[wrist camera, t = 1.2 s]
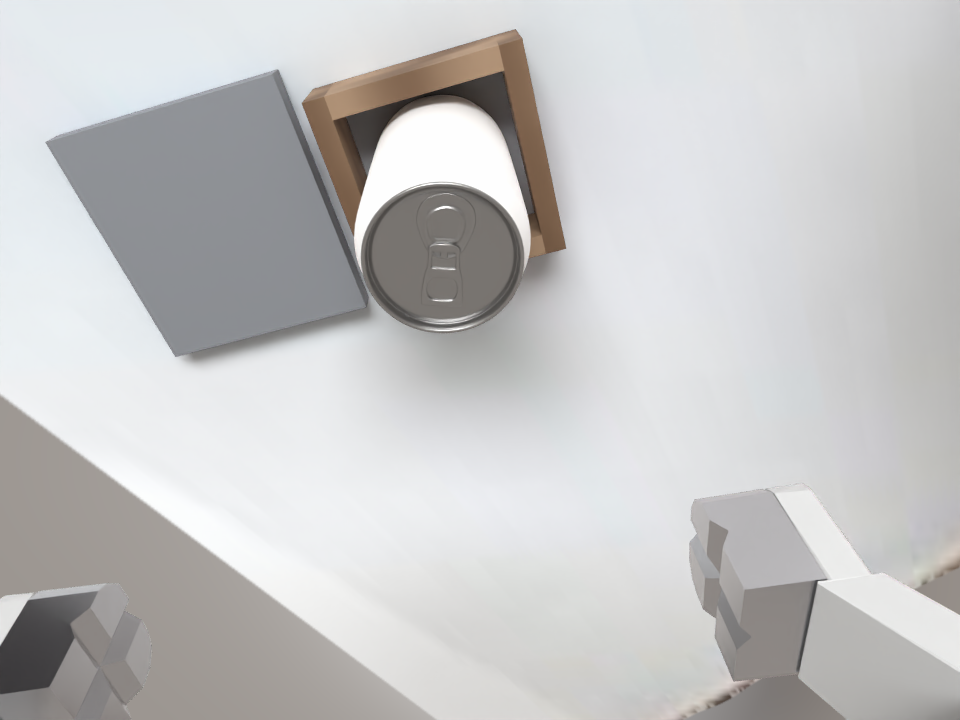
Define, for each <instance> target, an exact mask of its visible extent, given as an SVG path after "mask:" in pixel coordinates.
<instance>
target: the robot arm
mask: <svg viewBox="0 0 960 720" xmlns="http://www.w3.org/2000/svg"><path fill="white" fill-rule="evenodd" d="M691 521H692V524H693V526H694V528H695V530H696V533H697V534H696V536H695V537H694V538H693V539H692V540H691V541H690V543H689V561H690V567H691V574H692V579H693V583H694V586H695V589H696V593H697V595H698V598H699V600H700V603H701V605H702V608H703V609H704V610H705V611H706V612H708V613H709V614H710V615H712V616H713V617H715V618H716V627H715V639H716V641H717V644H718V646H719V648H720V651H721V653H722V655H723V658H724V660H725V662H726V665H727V667H728V669H729V672H730V674H731V677H732V679H733V681H742V680H751V679H760V678H769V677H778V676H786V675H796V674H799V676H798V678H799V679H800V680H801V681H803V682H804V683H805V684H806V685H807V686H808V687H809V688H811V689H812V690H813V691H814V692H815V693H816V694H818V695H819V696H820V697H821V698H822V699H823V700H825V701H826V702H827V703H828V704H829V705H830V706H831V707H833V708H834V709H835V710H836V711H837V712H838V713H840V714H841V715H842V716H843V717H844V718H845V719H846V720H960V615H958V614H957V613H955V612H953V611H951V610H950V609H948V608H946V607H944V606H943V605H941V604H939V603H937V602H935V601H934V600H932V599H930V598H928V597H926V596H925V595H923V594H921V593H919V592H917V591H916V590H914V589H912V588H910V587H908V586H907V585H905V584H903V583H901V582H899V581H898V580H896V579H894V578H892V577H890V576H889V575H887V574H885V573H876V574H872V573H871V572H870V570H869V569H868V568H867V566H866V565H865V563H864V562H863V561H862V559H861V558H860V557H859V555H858V554H857V552H856V551H855V550H854V548H853V547H852V545H851V544H850V543H849V541H848V540H847V538H846V537H845V536H844V534H843V533H842V532H841V530H840V529H839V527H838V526H837V525H836V523H835V522H834V520H833V519H832V518H831V516H830V515H829V513H828V512H827V511H826V509H825V508H824V507H823V505H822V504H821V502H820V501H819V500H818V498H817V497H816V495H815V494H814V493H813V491H812V490H811V488H810V487H808V486H806V485H805V484H803V483H800V484H793V485H787V486H780V487H773V488H767V489H765V490H764V489H760V490H753V491H746V492H740V493H733V494H727V495H720V496H714V497H707V498H700V499H695V500H694V502H693V504H692V508H691ZM128 601H129V598H128V597H127V595H126V594H125V592H124V591H123V590H122V588H121V586H120V585H119V584H114V583H113V584H112V583H106V584H98V585H88V586H80V587H71V588H62V589H54V590H45V591H39V592H34V593H25V594H16V595H8V596H4V597H3V598H1V599H0V720H131V717H130V714H129V711H128V709H127V706H126V704H127V703H128V702H129V701H130V700H131V699H132V698H133V697H134V696H135V695H136V694H137V693H138V692H139V691H140V690H141V689H142V688H143V686H144V684H145V681H146V678H147V675H148V672H149V669H150V662H151V650H152V645H151V641H150V637H149V632H148V630H147V629H146V626H145V625H144V623H143V621H142V620H141V619H139V618H137V617H136V616H134V615H132V614H130V613H128V612H126V611H125V608H126V606H127V603H128Z"/></svg>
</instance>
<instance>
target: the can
mask: <svg viewBox="0 0 960 720" xmlns="http://www.w3.org/2000/svg"><path fill="white" fill-rule="evenodd" d="M530 244H531V234H530V225H529V220H528V215H527V211H526V207H525V204H524V200H523V197H522V193H521V190H520V186H519V183H518V180H517V176H516V173H515V170H514V166H513V163H512V160H511V157H510V153H509V150H508V147H507V144H506V141H505V139H504V136H503V134H502V132H501V130H500V129H499V127H498V125H497V124H496V123H495V121H494V120H493V119H492V118H491V116H490V115H489V114H488V113H487V112H485V111H484V110H483V109H482V108H480V107H479V106H478V105H476V104H474V103H473V102H471V101H469V100H467V99H465V98H462V97H458V96H452V95H435V96H428V97H424V98H420V99H417V100H415V101H412V102H410V103H409V104H407V105H405V106H404V107H403V108H401V109H400V110H399V111H398V112H397V113H396V114H395V115H394V116H393V117H392V118H391V119H390V120H389V122H388V123H387V125H386V126H385V128H384V130H383V132H382V134H381V136H380V139H379V142H378V145H377V148H376V151H375V154H374V157H373V160H372V164H371V167H370V170H369V174H368V177H367V180H366V184H365V187H364V191H363V194H362V198H361V201H360V205H359V209H358V212H357V217H356V222H355V229H354V245H355V253H356V257H357V261H358V264H359V267H360V269H361V272H362V274H363V276H364V280H365V282H366V285H367V287H368V289H369V291H370V293H371V294H372V296H373V297H374V299H375V300H376V302H377V303H378V304H379V305H380V306H381V307H382V308H383V309H384V310H385V311H386V312H387V313H388V314H389V315H391V316H392V317H393V318H395V319H396V320H398V321H400V322H401V323H403V324H405V325H408V326H410V327H412V328H415V329H418V330H422V331H427V332H433V333H453V332H460V331H464V330H468V329H471V328H474V327H477V326H479V325H481V324H483V323H485V322H487V321H488V320H490V319H491V318H493V317H494V316H496V315H497V314H498V313H499V312H500V311H501V310H502V309H503V308H504V307H505V306H506V305H507V304H508V303H509V301H510V300H511V299H512V297H513V296H514V294H515V292H516V290H517V288H518V286H519V284H520V281H521V278H522V275H523V273H524V270H525V268H526V265H527V262H528V258H529V253H530Z"/></svg>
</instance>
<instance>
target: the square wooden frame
mask: <svg viewBox="0 0 960 720" xmlns="http://www.w3.org/2000/svg"><path fill="white" fill-rule="evenodd" d="M501 71H502V74H503V78H504V82H505V87H506V91H507V95H508V100H509V104H510V108H511V113H512V117H513V122H514V126H515V130H516V135H517V139H518V143H519V148H520V152H521V156H522V161H523V165H524V169H525V174H526V178H527V183H528V187H529V191H530V196H531V200H532V204H533V209H534V213H532V214H529V215H528V220H529V225H530V234H531V244H530V253H529V258H532V257H536V256H540V255H543V254H547V253H551V252H555V251H559V250H563V249H566V246H565V241H564V236H563V231H562V227H561V222H560V217H559V212H558V207H557V203H556V198H555V193H554V188H553V183H552V179H551V174H550V169H549V164H548V160H547V155H546V150H545V145H544V140H543V136H542V131H541V126H540V121H539V116H538V112H537V107H536V102H535V97H534V93H533V88H532V83H531V78H530V73H529V69H528V64H527V59H526V54H525V49H524V45H523V40H522V37H521V36H520V35H519V33H518V32H517V31H516V29H515V30H511V31H508V32H504V33H501V34H498V35H494V36H491V37H488V38H484V39H481V40H477V41H474V42H471V43H467V44H464V45H461V46H457V47H454V48H450V49H447V50H444V51H440V52H437V53H433V54H430V55H427V56H423V57H420V58H417V59H413V60H410V61H406V62H403V63H400V64H396V65H393V66H390V67H386V68H383V69H379V70H376V71H373V72H369V73H366V74H362V75H359V76H356V77H352V78H349V79H346V80H342V81H339V82H335V83H332V84H329V85H325V86H322V87H319V88H315V89H313V90H312V91H311V92H310V94H309V95H308V96H307V97H306V99H305V100H304V101H303V102H302V105H303V108H304V110H305V113H306V115H307V118H308V121H309V123H310V126H311V128H312V131H313V133H314V136H315V139H316V141H317V144H318V146H319V149H320V151H321V154H322V157H323V159H324V162H325V164H326V167H327V169H328V172H329V174H330V177H331V180H332V182H333V185H334V187H335V190H336V192H337V195H338V198H339V200H340V203H341V205H342V208H343V210H344V213H345V216H346V218H347V221H348V223H349V226H350V228H351V231H352V234H353V236H354V229H355V222H356V217H357V212H358V209H359V205H360V201H361V198H362V194H363V191H364V187H365V184H366V180H367V175H366V172H365V169H364V166H363V164H362V161H361V158H360V155H359V152H358V150H357V147H356V144H355V141H354V138H353V136H352V133H351V130H350V127H349V125H348V122H347V119H346V116H350V115H353V114H356V113H360V112H363V111H367V110H370V109H374V108H377V107H381V106H384V105H387V104H391V103H394V102H398V101H401V100H405V99H408V98H412V97H415V96H418V95H422V94H425V93H429V92H432V91H436V90H439V89H443V88H446V87H450V86H453V85H456V84H460V83H463V82H467V81H470V80H474V79H477V78H481V77H484V76H487V75H491V74H494V73H498V72H501Z"/></svg>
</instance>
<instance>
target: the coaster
mask: <svg viewBox="0 0 960 720" xmlns="http://www.w3.org/2000/svg"><path fill="white" fill-rule="evenodd" d="M46 144H47V146H48V147H49V149H50V151H51V152H52V154H53V156H54V157H55V159H56V161H57V162H58V164H59V165H60V167H61V169H62V170H63V172H64V174H65V175H66V177H67V179H68V180H69V182H70V184H71V185H72V187H73V189H74V190H75V192H76V194H77V195H78V197H79V198H80V200H81V202H82V203H83V205H84V207H85V208H86V210H87V212H88V213H89V215H90V217H91V218H92V220H93V222H94V223H95V225H96V227H97V228H98V230H99V232H100V233H101V235H102V236H103V238H104V240H105V241H106V243H107V245H108V246H109V248H110V250H111V251H112V253H113V255H114V256H115V258H116V260H117V261H118V263H119V265H120V266H121V268H122V269H123V271H124V273H125V274H126V276H127V278H128V279H129V281H130V283H131V284H132V286H133V288H134V289H135V291H136V293H137V294H138V296H139V298H140V299H141V301H142V302H143V304H144V306H145V307H146V309H147V311H148V312H149V314H150V316H151V317H152V319H153V321H154V322H155V324H156V326H157V327H158V329H159V331H160V332H161V334H162V335H163V337H164V339H165V340H166V342H167V344H168V345H169V347H170V349H171V350H172V352H173V354H174V355H175V357H177V356H181V355H185V354H189V353H193V352H196V351H200V350H204V349H208V348H212V347H216V346H219V345H223V344H227V343H231V342H235V341H239V340H242V339H246V338H250V337H254V336H258V335H262V334H266V333H269V332H273V331H277V330H281V329H285V328H289V327H292V326H296V325H300V324H304V323H308V322H312V321H315V320H319V319H323V318H327V317H331V316H335V315H339V314H342V313H346V312H350V311H354V310H358V309H362V308H365V307H366V306H367V301H368V295H367V292H366V290H365V287H364V285H363V282H362V280H361V277H360V275H359V272H358V270H357V267H356V265H355V262H354V260H353V257H352V255H351V252H350V249H349V247H348V244H347V242H346V239H345V237H344V234H343V232H342V229H341V227H340V224H339V222H338V219H337V217H336V214H335V212H334V209H333V207H332V204H331V202H330V199H329V197H328V194H327V192H326V189H325V187H324V184H323V182H322V179H321V177H320V174H319V172H318V169H317V166H316V164H315V161H314V159H313V156H312V154H311V151H310V149H309V146H308V144H307V141H306V139H305V136H304V134H303V131H302V129H301V126H300V124H299V121H298V119H297V116H296V114H295V111H294V109H293V106H292V104H291V101H290V99H289V96H288V94H287V91H286V89H285V86H284V84H283V81H282V78H281V76H280V73H279V71H278V70H274V71H271V72H268V73H264V74H261V75H258V76H254V77H251V78H248V79H244V80H241V81H238V82H235V83H231V84H228V85H225V86H221V87H218V88H215V89H211V90H208V91H205V92H201V93H198V94H195V95H191V96H188V97H185V98H181V99H178V100H175V101H171V102H168V103H165V104H161V105H158V106H155V107H151V108H148V109H145V110H141V111H138V112H135V113H131V114H128V115H125V116H121V117H118V118H115V119H111V120H108V121H105V122H101V123H98V124H95V125H91V126H88V127H85V128H81V129H78V130H75V131H71V132H68V133H65V134H61V135H58V136H56V137H54V138H53V139H51V140H49V141H47V142H46Z"/></svg>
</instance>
